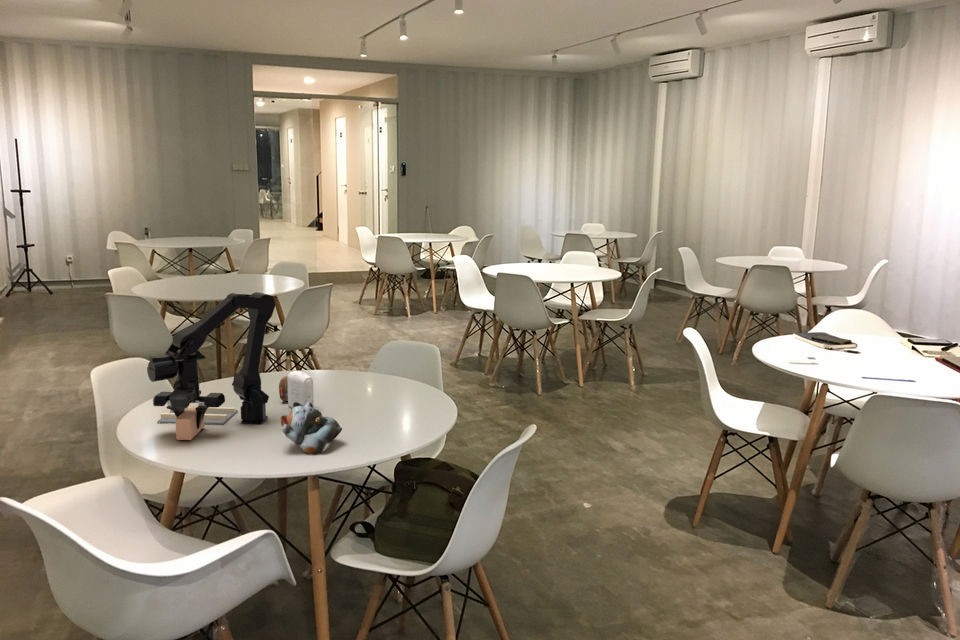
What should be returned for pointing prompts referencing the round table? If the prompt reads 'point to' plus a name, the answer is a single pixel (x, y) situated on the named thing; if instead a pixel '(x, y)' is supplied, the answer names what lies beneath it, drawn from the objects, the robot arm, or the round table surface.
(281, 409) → the round table surface
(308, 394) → the photo printer
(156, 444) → the round table surface
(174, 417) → the slot mat
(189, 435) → the pink rectangular brick
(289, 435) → the lucky cat figurine
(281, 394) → the tin
